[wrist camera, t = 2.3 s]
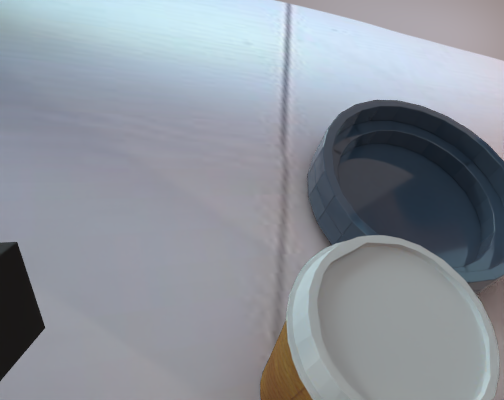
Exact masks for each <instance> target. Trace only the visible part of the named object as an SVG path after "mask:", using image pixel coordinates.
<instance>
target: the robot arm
mask: <svg viewBox="0 0 504 400" xmlns="http://www.w3.org/2000/svg"><path fill="white" fill-rule="evenodd" d="M44 329H45V326H44V323H43V320H42V316H41V313H40V310H39V307H38V304H37V301H36V298H35V295H34V292H33V289H32V286H31V283H30V280H29V277H28V274H27V271H26V268H25V265H24V262H23V259H22V256H21V253H20V250H19V247H18V243H17V242H8V243H0V381H1V380H2V378H3V377H4V376H5V375H6V374H7V372H8V371H9V370H10V369H11V368H12V367H13V365H14V364H15V363H16V362H17V361H18V359H19V358H20V357H21V356H22V355H23V354H24V352H25V351H26V350H27V349H28V348H29V346H30V345H31V344H32V343H33V342H34V340H35V339H36V338H37V337H38V336H39V335H40V333H41V332H42V331H43V330H44Z"/></svg>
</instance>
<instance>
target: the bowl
mask: <svg viewBox="0 0 504 400" xmlns="http://www.w3.org/2000/svg"><path fill="white" fill-rule="evenodd" d="M307 178H308V196H309V201H310V204H311V207H312V210H313V212H314V215H315V218H316V221H317V222H318V225H319V226H320V228H321V229H322V231H323V232H324V234H325V236H326V237H327V239H328V240H329V242H330V243H331V245H334V244H336V243H340V242H344V241H348V240H351V239H354V238H356V237H361V236H372V235H385V236H391V237H396V238H401V239H404V240H406V241H409V242H412V243H415V244H417V245H420V246H422V247H423V248H425V249H427V250H428V251H430V252H431V253H433V254H435V255H436V256H438V257H439V258H441V259H443V260H444V261H445V262H446V263H447V264H448V265H449V266H451V267H452V268H453V269H454V270H455V271H456V272H457V273H458V274H459V275H460V276H461V277H462V278H463V279H464V280H465V281H466V282H467V283H468V285H469V286H470V287H471V289H472V290H473V292H474V293H475V294H478V293H480V292H481V291H483V290H485V289H487V288H488V287H490V286H491V285H493V284H494V283H496V282H497V281H499V280H500V279H502V278H503V277H504V161H503V160H502V159H501V158H500V157H499V156H498V154H497V153H496V152H495V151H494V150H493V149H492V148H491V147H490V146H489V145H488V144H487V143H486V142H484V141H483V140H482V139H481V138H479V137H478V136H477V135H476V134H474V133H473V132H472V131H471V130H469V129H468V128H466V127H464V126H463V125H461V124H459V123H458V122H456V121H454V120H452V119H451V118H449V117H447V116H445V115H443V114H441V113H438V112H436V111H433V110H431V109H428V108H426V107H423V106H420V105H416V104H411V103H407V102H402V101H398V100H373V101H369V102H364V103H359V104H356V105H354V106H352V107H350V108H349V109H347V110H345V111H344V112H342V113H340V114H339V115H338V116H337V117H336V119H335V120H334V121H333V122H332V124H331V125H330V126H329V127H328V129H327V131H326V133H325V135H324V137H323V138H322V140H321V142H320V144H319V146H318V148H317V150H316V152H315V154H314V156H313V158H312V161H311V165H310V168H309V171H308V176H307Z"/></svg>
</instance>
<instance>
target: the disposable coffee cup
mask: <svg viewBox="0 0 504 400" xmlns="http://www.w3.org/2000/svg"><path fill="white" fill-rule="evenodd" d="M499 375H500V357H499V350H498V343H497V340H496V336H495V333H494V329H493V326H492V323H491V321H490V319H489V317H488V315H487V313H486V311H485V309H484V307H483V305H482V303H481V301H480V300H479V298H478V297H477V296H476V294H475V293H474V292H473V290H472V289H471V287H470V286H469V285H468V283H467V282H466V281H465V280H464V279H463V278H462V277H461V276H460V275H459V274H458V273H457V272H456V271H455V270H454V269H453V268H452V267H451V266H449V265H448V264H447V263H446V262H445V261H444V260H443V259H441V258H439V257H438V256H436V255H435V254H433V253H431V252H430V251H428V250H427V249H425V248H423V247H422V246H420V245H417V244H415V243H412V242H409V241H406V240H404V239H401V238H396V237H391V236H385V235H372V236H361V237H356V238H354V239H351V240H348V241H344V242H340V243H336V244H334V245H331V246H329V247H327V248H325V249H323V250H321V251H320V252H319V253H317V254H316V255H315V256H313V257H312V258H311V259H310V260H309V261H308V262H307V263H306V264H305V265H304V267H303V268H302V270H301V271H300V273H299V274H298V276H297V278H296V280H295V283H294V285H293V287H292V290H291V292H290V295H289V300H288V307H287V313H286V322H285V324H284V326H283V328H282V331H281V333H280V335H279V338H278V340H277V342H276V344H275V347H274V349H273V351H272V354H271V356H270V358H269V360H268V363H267V364H266V367H265V369H264V371H263V374H262V378H261V383H260V396H261V400H493V398H494V396H495V393H496V388H497V384H498V379H499Z"/></svg>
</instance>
